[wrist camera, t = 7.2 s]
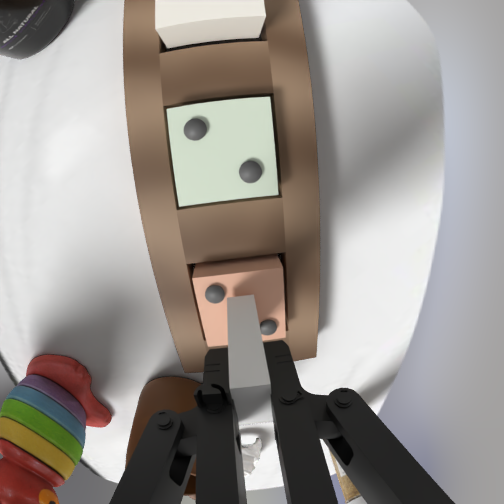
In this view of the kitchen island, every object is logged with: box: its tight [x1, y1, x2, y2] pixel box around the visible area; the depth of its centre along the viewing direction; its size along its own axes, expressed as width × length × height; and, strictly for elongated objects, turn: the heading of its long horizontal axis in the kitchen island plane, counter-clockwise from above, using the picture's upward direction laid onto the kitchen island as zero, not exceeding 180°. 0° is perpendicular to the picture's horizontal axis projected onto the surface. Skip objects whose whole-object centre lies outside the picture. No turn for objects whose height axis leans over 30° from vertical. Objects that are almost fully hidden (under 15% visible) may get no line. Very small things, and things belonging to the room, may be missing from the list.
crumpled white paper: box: [241, 438, 262, 477], centre depth 26 cm, size 8×7×5 cm
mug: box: [125, 377, 201, 500], centre depth 20 cm, size 12×8×9 cm, turn 10°
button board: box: [123, 0, 320, 373], centre depth 15 cm, size 30×10×2 cm, turn 5°
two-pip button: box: [167, 97, 278, 207], centre depth 14 cm, size 5×5×3 cm
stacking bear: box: [0, 355, 112, 504], centre depth 14 cm, size 11×10×18 cm
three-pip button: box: [192, 253, 286, 347], centre depth 17 cm, size 5×5×3 cm
